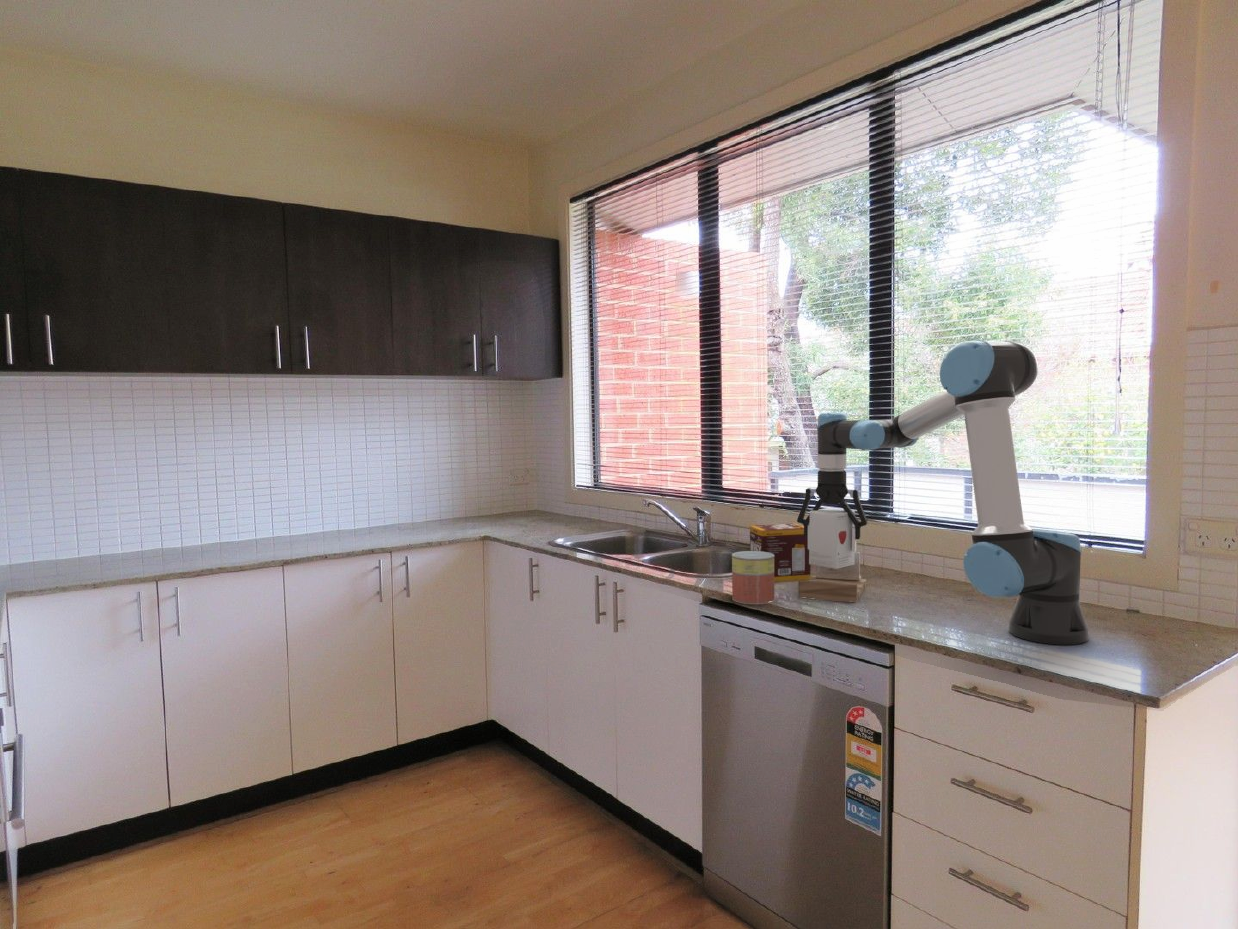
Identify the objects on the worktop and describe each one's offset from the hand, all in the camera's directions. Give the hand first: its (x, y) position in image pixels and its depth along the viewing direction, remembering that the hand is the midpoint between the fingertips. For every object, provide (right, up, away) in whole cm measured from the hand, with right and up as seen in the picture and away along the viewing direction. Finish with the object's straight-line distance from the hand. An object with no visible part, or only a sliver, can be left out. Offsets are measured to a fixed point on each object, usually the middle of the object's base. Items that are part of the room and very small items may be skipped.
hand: (831, 549), depth 207 cm
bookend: (+5, -9, +12) cm, 16 cm away
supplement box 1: (-10, -11, +21) cm, 26 cm away
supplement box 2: (0, -4, 0) cm, 4 cm away
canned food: (-22, -13, -4) cm, 26 cm away
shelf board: (+1, -12, +3) cm, 12 cm away
